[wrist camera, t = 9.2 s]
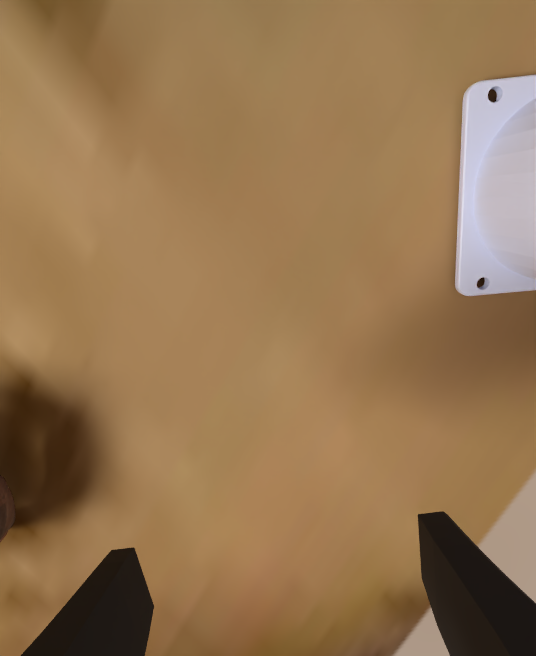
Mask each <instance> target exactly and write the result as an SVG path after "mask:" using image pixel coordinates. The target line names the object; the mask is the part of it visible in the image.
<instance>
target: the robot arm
mask: <svg viewBox="0 0 536 656" xmlns="http://www.w3.org/2000/svg"><path fill="white" fill-rule="evenodd" d="M490 89H493V90H495V91H496V93H497V98H496V101H495V102H494V103H493V102H491V101H490V100H489V99H488V93H489V90H490ZM483 277H484V279H485V282H484V285H483V286H482V287H479V288H477V281H478V280H479V279H480V278H483ZM455 287H456V289H457V291H458V292H459V293H461V294H463V295H465V296H476V295H487V294H498V293H509V292H521V291H532V290H536V75H528V76H520V77H511V78H502V79H493V80H485V81H480V82H477V83H475V84H473V85H471V86H470V87H469V88H468V89H467V90H466V92H465V94H464V98H463V112H462V135H461V158H460V182H459V205H458V228H457V251H456V275H455ZM418 525H419V541H420V557H421V573H422V580H423V583H424V586H425V589H426V592H427V596H428V599H429V602H430V605H431V608H432V611H433V614H434V617H435V620H436V623H437V626H438V628H439V630H440V633H441V635H442V638H443V640H444V642H445V645H446V647H447V649H448V652H449V654H450V656H536V603H535V602H534V601H533V600H532V599H530V598H529V597H528V596H527V595H526V594H525V593H524V592H523V591H522V590H521V589H520V588H519V587H518V586H517V585H516V584H515V583H514V582H512V581H511V580H510V579H509V578H508V577H507V576H506V575H505V574H504V573H503V572H502V571H501V570H500V569H499V568H498V567H497V566H496V565H495V564H494V563H493V562H492V561H491V560H490V559H489V558H488V557H487V556H486V555H485V554H484V553H483V552H482V551H481V550H480V549H479V548H478V547H477V546H476V545H475V544H474V543H473V542H472V541H471V539H470V538H469V537H468V536H467V535H466V534H465V533H464V532H463V531H462V530H461V529H460V528H459V527H458V526H457V524H456V523H455V522H454V521H453V520H452V519H451V518H450V517H449V516H448V515H447V514H446V513H445V512H434V513H425V514H418ZM153 609H154V605H153V602H152V599H151V596H150V593H149V590H148V587H147V584H146V581H145V578H144V575H143V572H142V569H141V566H140V563H139V560H138V557H137V554H136V551H135V548H126V549H117V550H111V551H110V553H109V554H108V555H107V556H106V557H105V558H104V559H103V561H102V562H101V563H100V564H99V565H98V567H97V568H96V569H95V570H94V571H93V572H92V574H91V575H90V576H89V577H88V578H87V580H86V581H85V582H84V583H83V584H82V586H81V587H80V588H79V589H78V590H77V592H76V593H75V594H74V595H73V596H72V598H71V599H70V600H69V601H68V602H67V603H66V605H65V606H64V607H63V608H62V609H61V611H60V612H59V613H58V614H57V615H56V616H55V618H54V619H53V620H52V621H51V622H50V623H49V625H48V626H47V627H46V628H45V629H44V630H43V632H42V633H41V634H40V635H39V636H38V637H37V638H36V639H35V640H34V642H33V643H32V644H31V645H30V646H29V647H28V648H27V649H26V650H25V651H24V653H23V654H22V655H21V656H145V651H146V646H147V641H148V636H149V631H150V626H151V620H152V615H153Z"/></svg>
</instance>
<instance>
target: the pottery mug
mask: <svg viewBox="0 0 536 656" xmlns="http://www.w3.org/2000/svg"><path fill="white" fill-rule="evenodd" d="M14 521H15V505H14V499H13V496H12V493H11V491H10V489H9V488H8V485H7V483H6V480H5V479H4V478H3V477H2V476H1V475H0V542H1V541H2V539H3V538H4V537H5V536H6V534H7V532H8V530H9V529H10V528H11V527H12V525H13V523H14Z"/></svg>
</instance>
